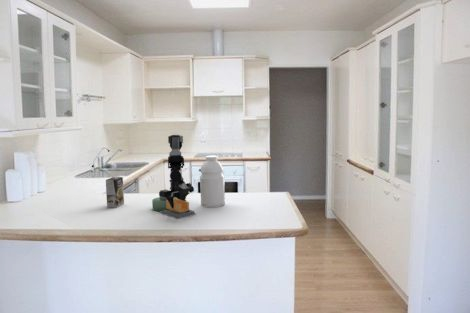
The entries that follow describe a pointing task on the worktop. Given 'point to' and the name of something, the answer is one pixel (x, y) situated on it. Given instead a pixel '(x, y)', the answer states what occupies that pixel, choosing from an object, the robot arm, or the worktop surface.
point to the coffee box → (114, 192)
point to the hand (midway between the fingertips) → (177, 207)
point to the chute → (178, 205)
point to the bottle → (212, 183)
